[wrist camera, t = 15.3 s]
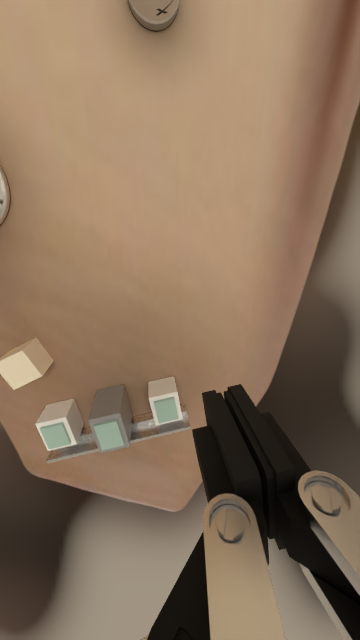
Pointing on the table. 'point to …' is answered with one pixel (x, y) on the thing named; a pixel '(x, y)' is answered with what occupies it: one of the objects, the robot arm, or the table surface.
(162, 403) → the mounted modules
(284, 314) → the table surface
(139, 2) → the travel mug
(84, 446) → the rail
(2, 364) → the cream cube
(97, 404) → the block
